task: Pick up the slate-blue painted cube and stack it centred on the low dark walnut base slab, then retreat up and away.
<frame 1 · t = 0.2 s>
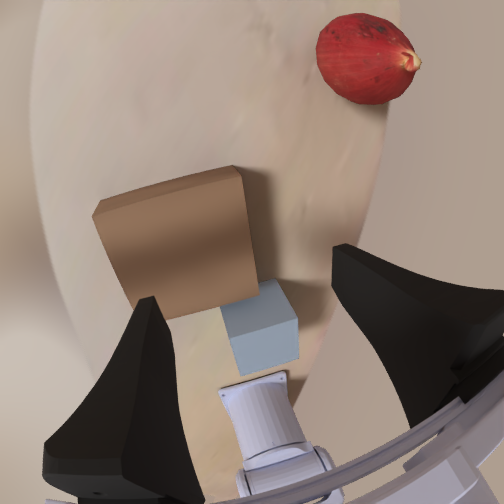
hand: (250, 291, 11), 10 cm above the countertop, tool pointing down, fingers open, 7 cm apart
base: (180, 238, 21), on the countertop
cube: (250, 307, 25), on the countertop
onion: (332, 60, 16), on the countertop
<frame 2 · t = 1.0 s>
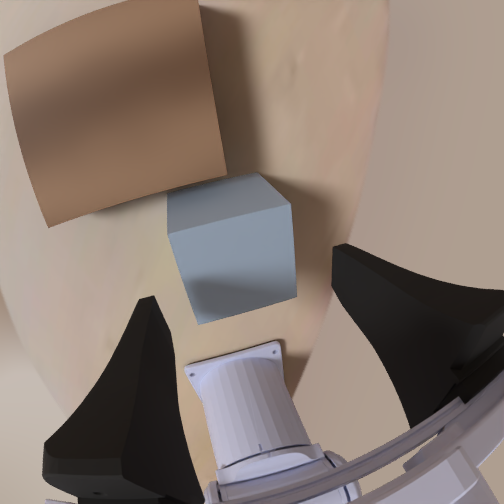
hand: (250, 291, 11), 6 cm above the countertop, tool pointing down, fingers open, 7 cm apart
base: (116, 102, 12), on the countertop
cube: (220, 222, 17), on the countertop
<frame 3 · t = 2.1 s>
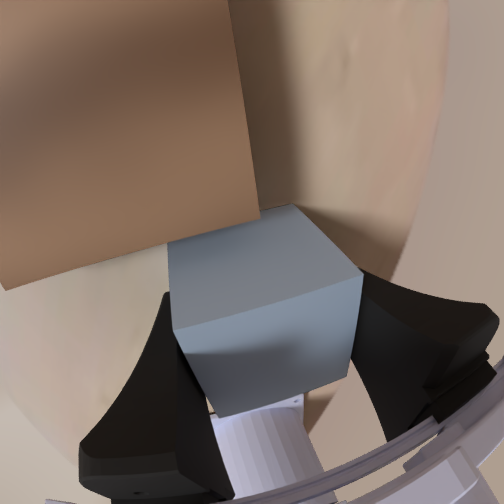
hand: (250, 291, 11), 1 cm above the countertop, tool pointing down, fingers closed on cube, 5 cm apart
base: (91, 103, 8), on the countertop
cube: (241, 270, 12), on the countertop, touching gripper
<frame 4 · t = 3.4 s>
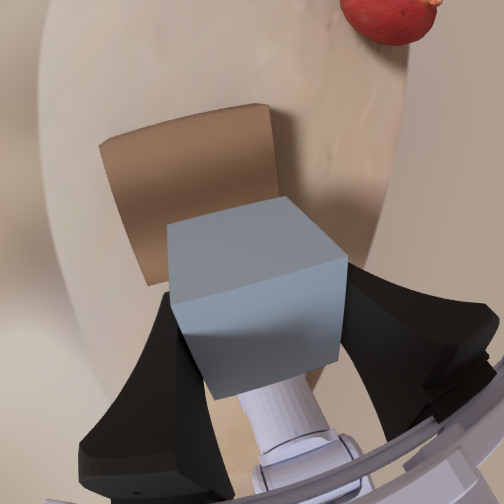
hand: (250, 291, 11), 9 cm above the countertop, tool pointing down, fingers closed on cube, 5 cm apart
base: (195, 185, 18), on the countertop
cube: (237, 260, 13), point 7 cm above the countertop, touching gripper
onion: (351, 12, 14), on the countertop
when the fingers open (5 cm above the countertop, at t = 4.7 s): cube stays where it is, resting on base.
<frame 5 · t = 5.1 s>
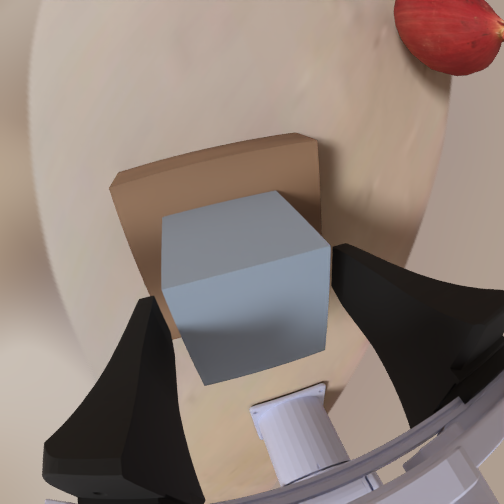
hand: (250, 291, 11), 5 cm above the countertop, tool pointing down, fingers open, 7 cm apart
base: (222, 225, 16), on the countertop, touching cube
cube: (229, 252, 14), point 2 cm above the countertop, touching base
onion: (399, 27, 12), on the countertop
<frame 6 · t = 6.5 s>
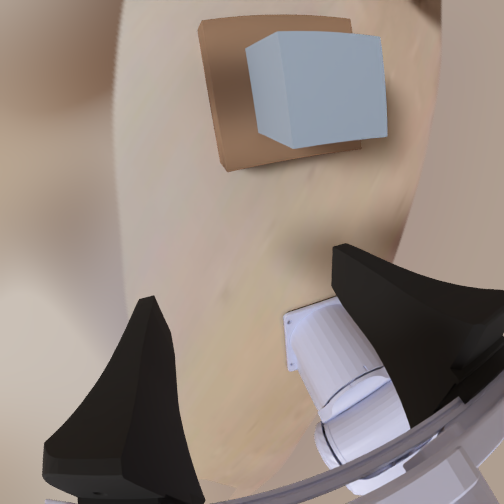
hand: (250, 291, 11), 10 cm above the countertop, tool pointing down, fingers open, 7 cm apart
base: (275, 85, 17), on the countertop, touching cube
cube: (294, 85, 14), point 2 cm above the countertop, touching base
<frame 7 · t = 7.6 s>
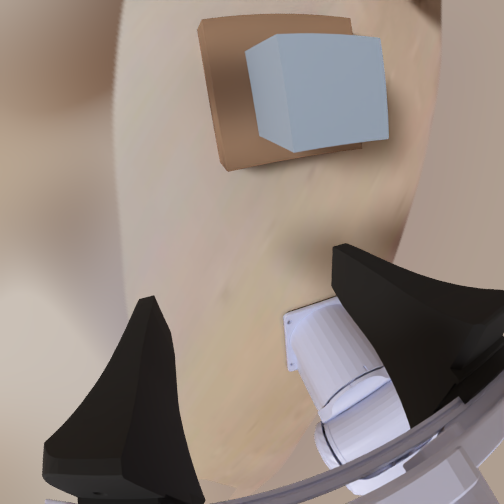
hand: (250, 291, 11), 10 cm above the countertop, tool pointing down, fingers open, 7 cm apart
base: (275, 85, 17), on the countertop
cube: (294, 88, 14), point 3 cm above the countertop
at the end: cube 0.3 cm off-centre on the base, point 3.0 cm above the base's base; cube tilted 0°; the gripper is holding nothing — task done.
